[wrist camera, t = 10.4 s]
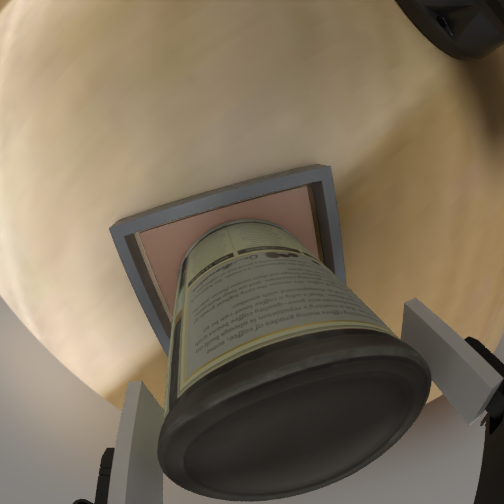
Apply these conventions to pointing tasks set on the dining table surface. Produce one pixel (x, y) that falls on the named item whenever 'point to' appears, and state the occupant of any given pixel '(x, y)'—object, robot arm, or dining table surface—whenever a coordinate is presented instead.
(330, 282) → the coffee can
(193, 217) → the organiser
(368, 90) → the dining table surface
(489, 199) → the dining table surface
